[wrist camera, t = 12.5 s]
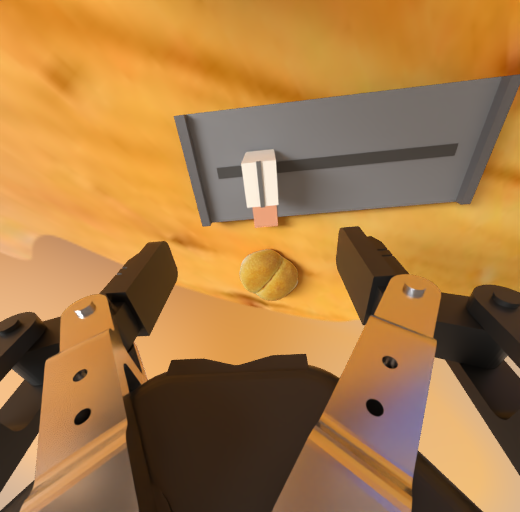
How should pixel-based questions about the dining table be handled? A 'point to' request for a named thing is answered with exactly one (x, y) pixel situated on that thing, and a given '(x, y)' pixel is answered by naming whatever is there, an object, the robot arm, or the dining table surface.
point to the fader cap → (260, 178)
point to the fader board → (349, 149)
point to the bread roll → (268, 275)
